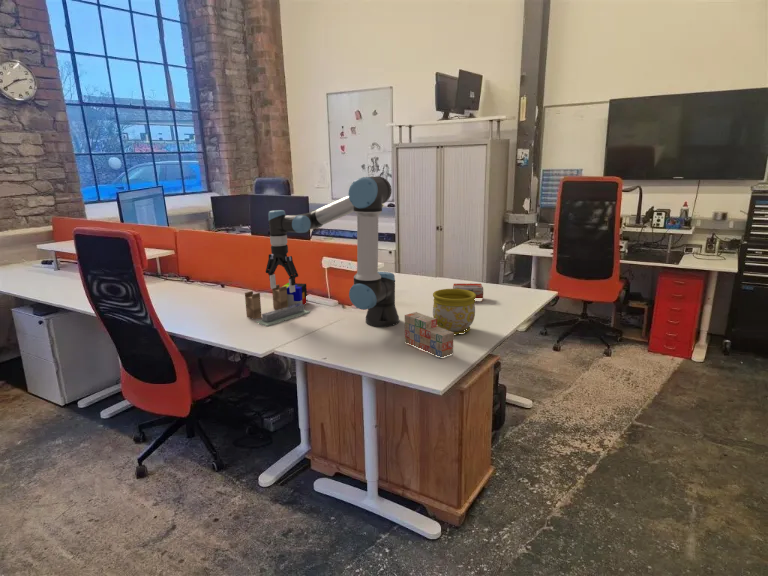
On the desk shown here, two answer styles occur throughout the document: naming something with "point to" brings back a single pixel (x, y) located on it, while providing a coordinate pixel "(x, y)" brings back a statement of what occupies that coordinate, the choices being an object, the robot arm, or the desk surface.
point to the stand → (255, 306)
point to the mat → (282, 318)
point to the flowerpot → (454, 309)
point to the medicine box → (471, 288)
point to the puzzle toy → (296, 294)
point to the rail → (282, 313)
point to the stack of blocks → (428, 334)
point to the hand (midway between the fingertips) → (282, 290)
